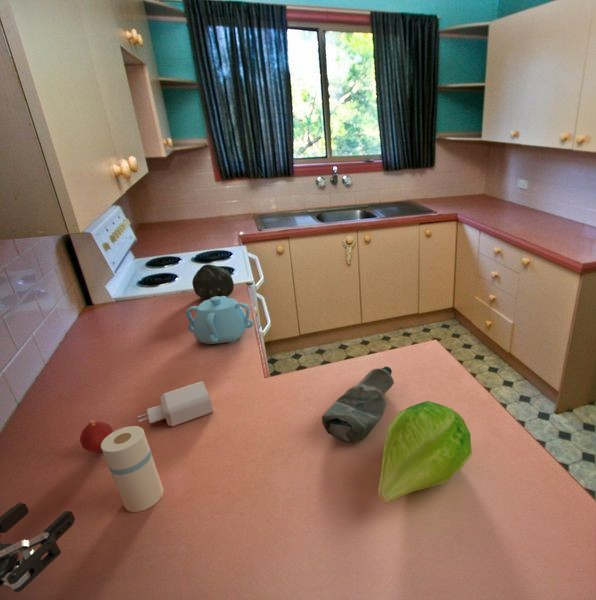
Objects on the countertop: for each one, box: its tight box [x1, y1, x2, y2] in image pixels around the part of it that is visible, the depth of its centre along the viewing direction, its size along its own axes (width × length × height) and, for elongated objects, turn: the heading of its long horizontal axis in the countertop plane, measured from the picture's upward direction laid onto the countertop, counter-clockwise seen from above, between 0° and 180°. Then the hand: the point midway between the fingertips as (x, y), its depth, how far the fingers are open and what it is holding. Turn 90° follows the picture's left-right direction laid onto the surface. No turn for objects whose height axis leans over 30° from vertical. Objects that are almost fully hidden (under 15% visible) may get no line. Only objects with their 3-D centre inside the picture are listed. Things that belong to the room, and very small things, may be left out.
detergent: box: [321, 366, 395, 444], centre depth 99 cm, size 13×7×25 cm
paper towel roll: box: [101, 425, 164, 513], centre depth 76 cm, size 6×6×14 cm
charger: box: [137, 380, 214, 427], centre depth 100 cm, size 5×9×15 cm
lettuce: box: [378, 400, 473, 504], centre depth 79 cm, size 15×22×15 cm
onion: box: [79, 420, 115, 453], centre depth 89 cm, size 6×6×8 cm
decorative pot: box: [185, 296, 254, 345], centre depth 134 cm, size 16×16×14 cm
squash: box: [191, 263, 235, 302], centre depth 165 cm, size 14×15×15 cm
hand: (48, 510), depth 65 cm, fingers open, 8 cm apart
